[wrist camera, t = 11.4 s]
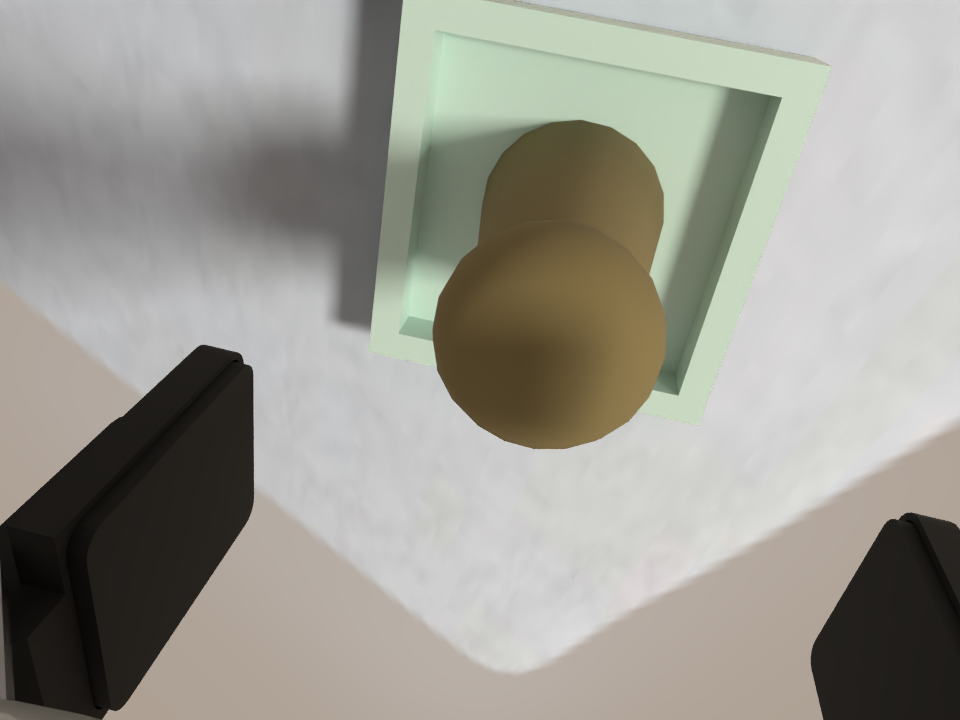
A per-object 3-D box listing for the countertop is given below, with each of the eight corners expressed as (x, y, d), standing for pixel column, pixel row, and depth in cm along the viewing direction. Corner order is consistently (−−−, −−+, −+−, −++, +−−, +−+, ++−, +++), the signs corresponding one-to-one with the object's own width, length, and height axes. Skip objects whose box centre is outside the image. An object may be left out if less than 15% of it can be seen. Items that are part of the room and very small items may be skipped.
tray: (814, 57, 22) (832, 66, 20) (693, 395, 28) (698, 425, 26) (421, -17, 23) (404, -15, 21) (384, 326, 29) (368, 351, 27)
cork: (564, 78, 23) (523, 166, 13) (704, 205, 24) (760, 371, 14) (446, 220, 26) (343, 377, 16) (577, 328, 27) (553, 535, 17)
